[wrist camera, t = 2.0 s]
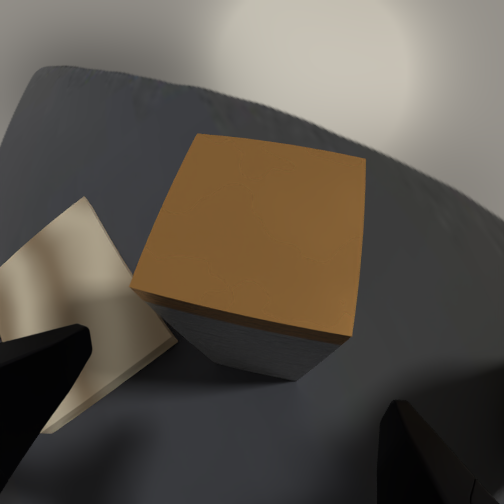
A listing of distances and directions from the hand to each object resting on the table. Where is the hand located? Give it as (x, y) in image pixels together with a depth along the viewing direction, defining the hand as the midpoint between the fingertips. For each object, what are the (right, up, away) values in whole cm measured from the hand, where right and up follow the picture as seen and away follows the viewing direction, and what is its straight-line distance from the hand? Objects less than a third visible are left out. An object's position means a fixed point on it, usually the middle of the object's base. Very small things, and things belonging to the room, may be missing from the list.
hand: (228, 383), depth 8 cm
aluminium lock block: (+1, -2, +11) cm, 11 cm away
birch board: (-13, -1, +12) cm, 18 cm away
